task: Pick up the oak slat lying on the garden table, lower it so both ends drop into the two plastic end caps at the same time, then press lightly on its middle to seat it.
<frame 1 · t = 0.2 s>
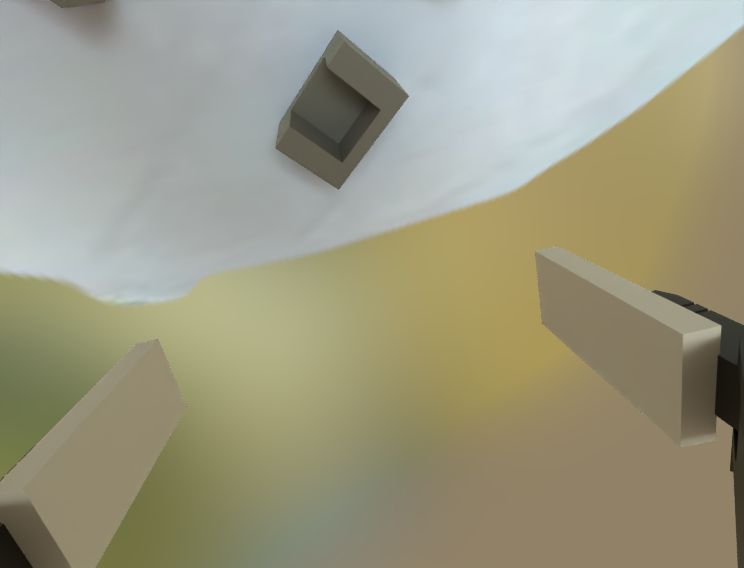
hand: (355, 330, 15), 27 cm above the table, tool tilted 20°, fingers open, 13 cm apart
end caps: (226, 16, 32), on the table
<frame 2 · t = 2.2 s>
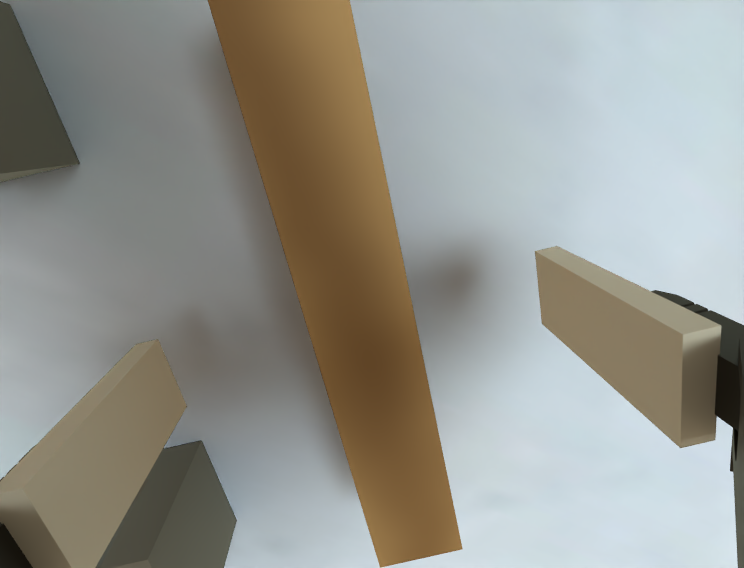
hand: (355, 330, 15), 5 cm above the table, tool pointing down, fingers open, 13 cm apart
end caps: (57, 339, 20), on the table
slat: (356, 269, 20), on the table
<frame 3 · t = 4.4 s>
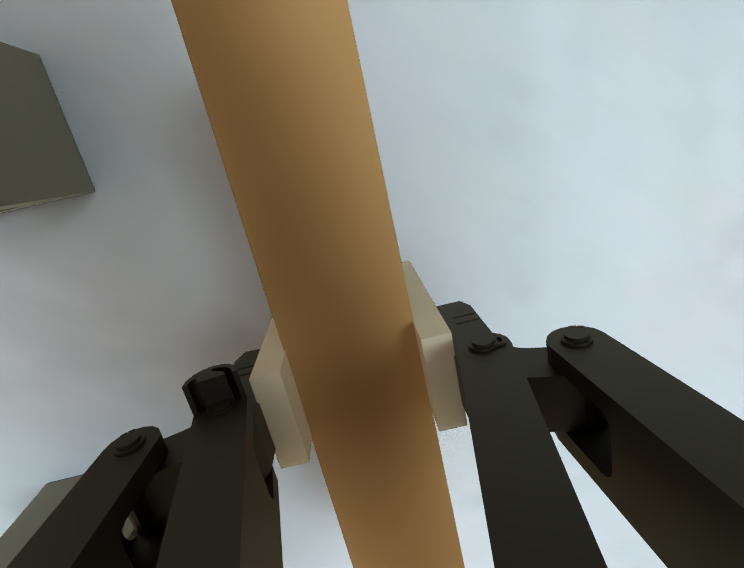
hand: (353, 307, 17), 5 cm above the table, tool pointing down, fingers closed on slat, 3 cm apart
end caps: (68, 351, 21), on the table
slat: (354, 305, 17), point 4 cm above the table, touching gripper
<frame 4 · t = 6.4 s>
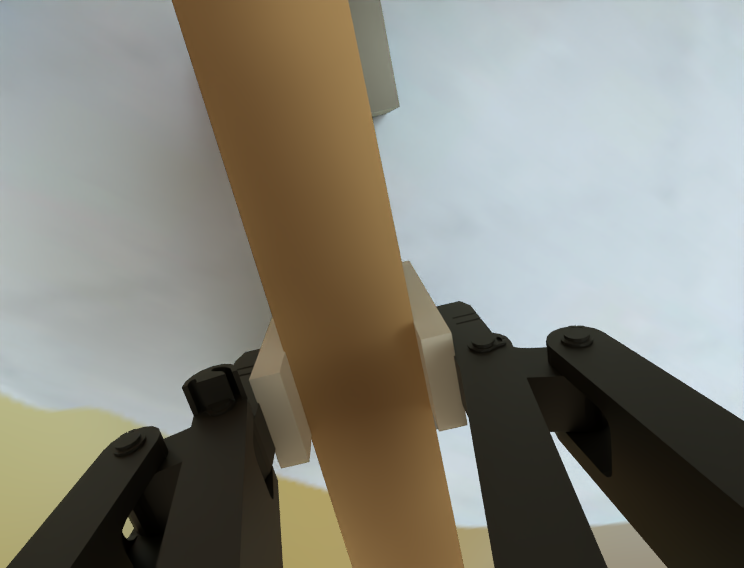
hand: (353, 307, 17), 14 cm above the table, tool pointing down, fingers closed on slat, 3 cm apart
end caps: (347, 232, 30), on the table
slat: (354, 306, 17), point 13 cm above the table, touching gripper
when the fingers open (2 cm above the table, at t = 8.7 s): slat stays where it is, resting on end caps.
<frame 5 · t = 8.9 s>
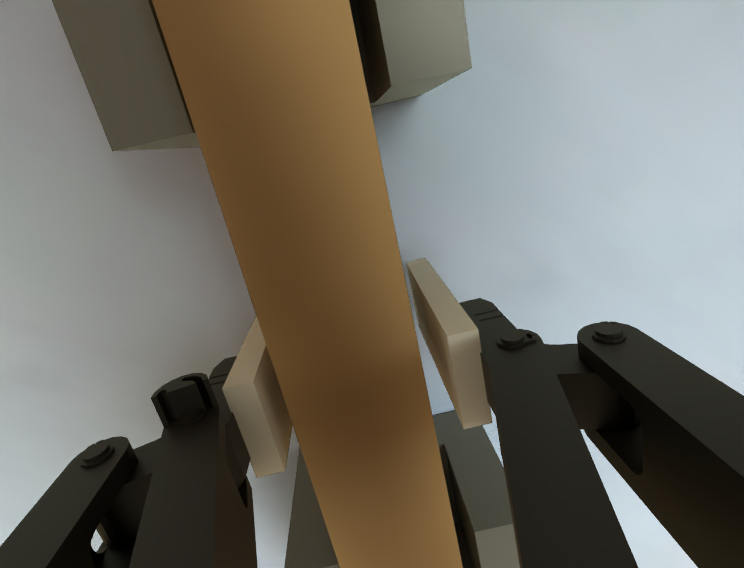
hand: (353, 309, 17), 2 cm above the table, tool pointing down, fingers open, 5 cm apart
end caps: (352, 292, 18), on the table
slat: (353, 317, 17), point 2 cm above the table, touching end caps
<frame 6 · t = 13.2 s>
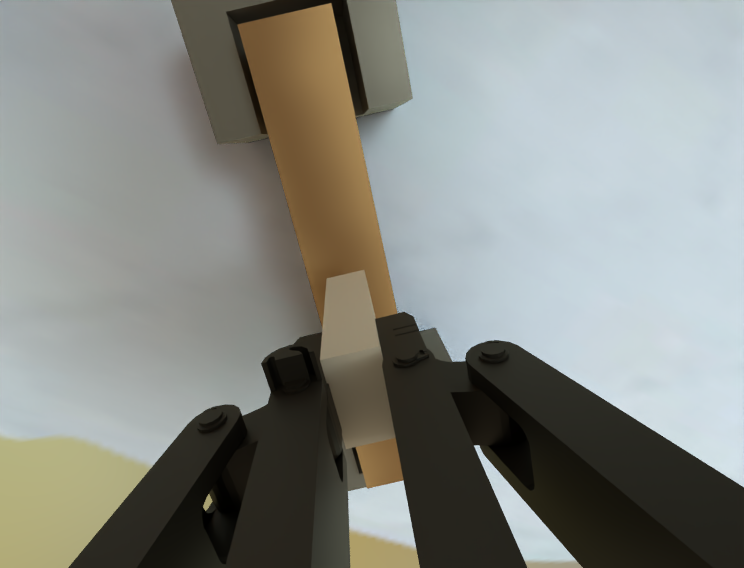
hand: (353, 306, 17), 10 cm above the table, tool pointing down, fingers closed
end caps: (349, 243, 27), on the table
slat: (349, 256, 25), point 2 cm above the table, touching end caps
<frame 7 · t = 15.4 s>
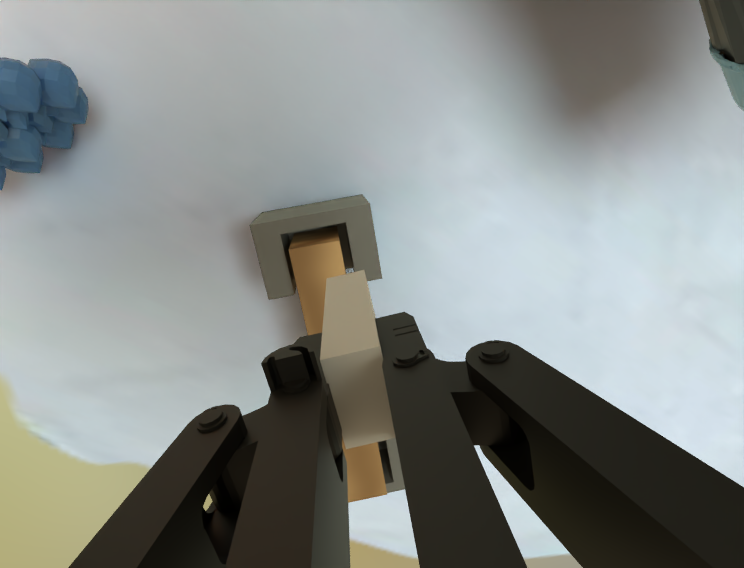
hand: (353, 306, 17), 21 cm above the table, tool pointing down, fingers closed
end caps: (340, 337, 40), on the table
slat: (340, 350, 38), point 2 cm above the table, touching end caps
grapes: (52, 121, 33), on the table
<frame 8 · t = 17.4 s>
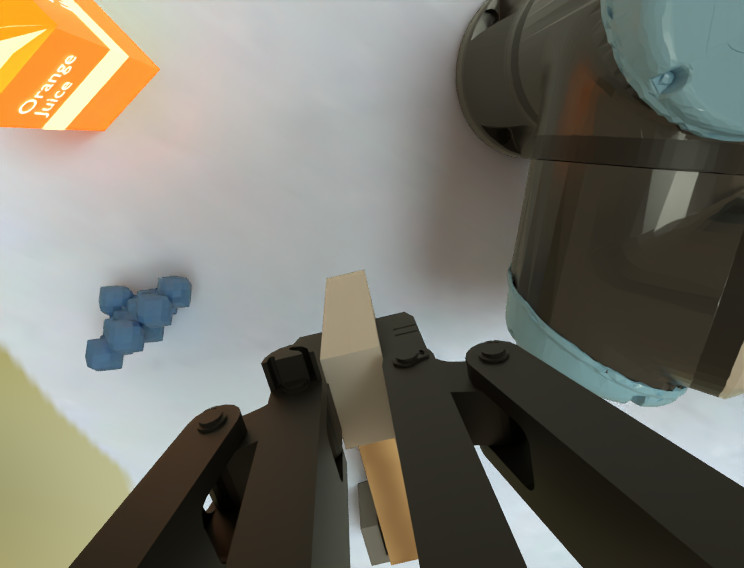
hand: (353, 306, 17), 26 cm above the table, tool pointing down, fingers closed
end caps: (379, 429, 50), on the table
orange juice: (91, 59, 37), on the table
slat: (381, 442, 49), point 2 cm above the table, touching end caps
grapes: (160, 290, 43), on the table
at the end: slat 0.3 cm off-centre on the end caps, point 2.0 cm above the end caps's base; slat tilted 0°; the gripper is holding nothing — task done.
